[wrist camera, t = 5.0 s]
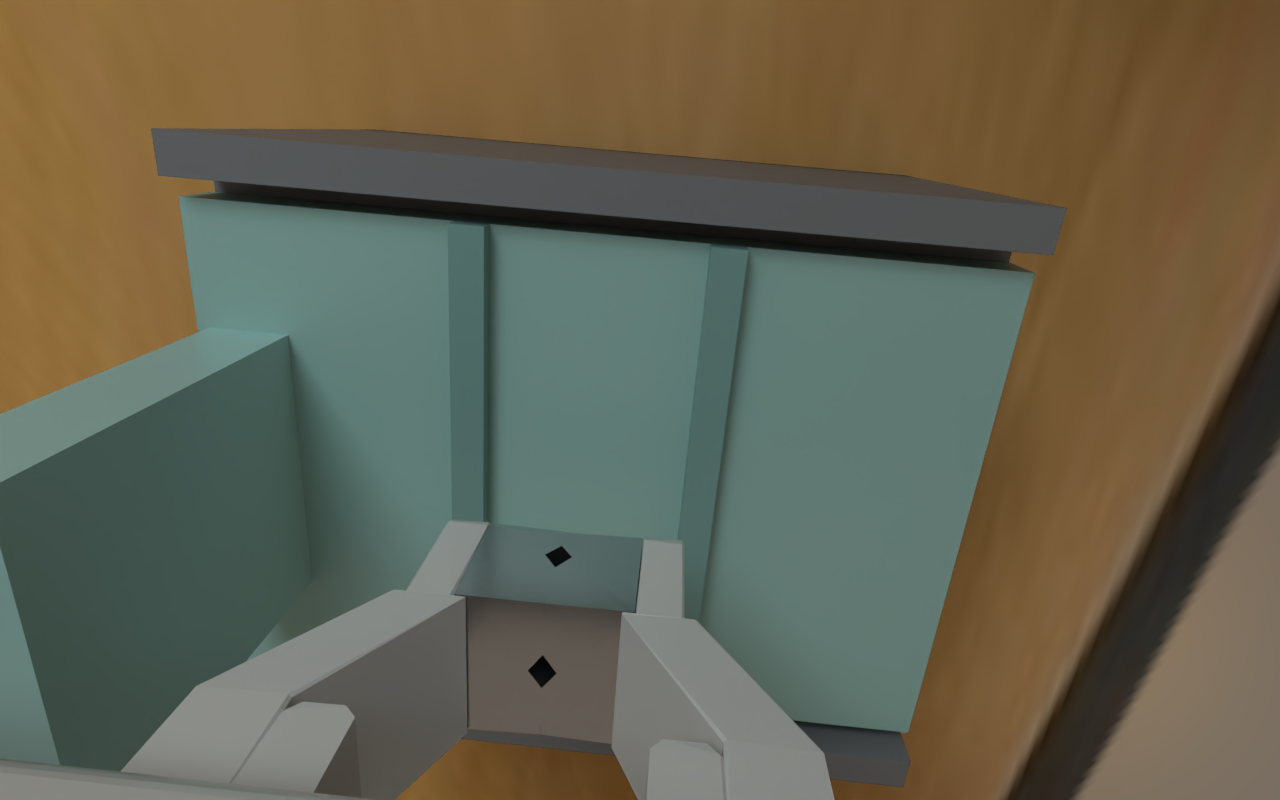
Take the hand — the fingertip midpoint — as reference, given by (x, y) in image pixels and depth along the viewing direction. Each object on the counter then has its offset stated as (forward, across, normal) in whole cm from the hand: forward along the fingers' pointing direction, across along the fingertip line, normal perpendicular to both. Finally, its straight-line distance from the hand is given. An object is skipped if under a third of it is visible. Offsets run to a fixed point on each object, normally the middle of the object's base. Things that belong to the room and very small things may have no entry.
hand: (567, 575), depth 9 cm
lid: (+3, 0, 0) cm, 3 cm away
